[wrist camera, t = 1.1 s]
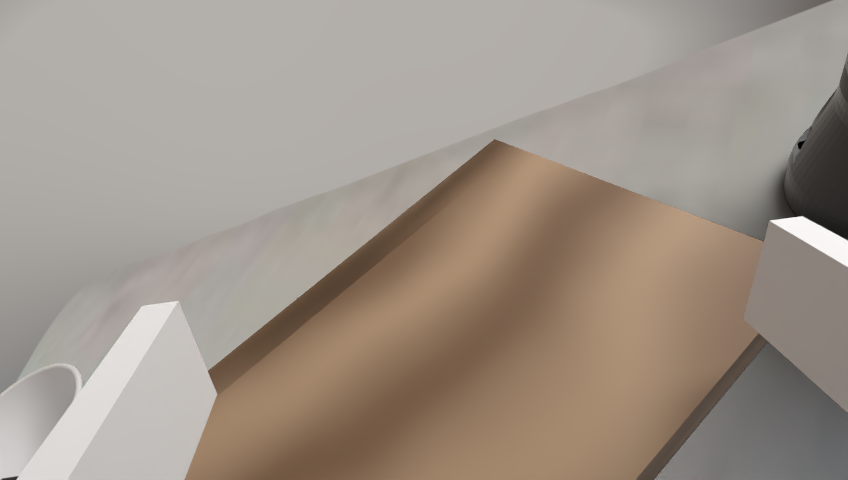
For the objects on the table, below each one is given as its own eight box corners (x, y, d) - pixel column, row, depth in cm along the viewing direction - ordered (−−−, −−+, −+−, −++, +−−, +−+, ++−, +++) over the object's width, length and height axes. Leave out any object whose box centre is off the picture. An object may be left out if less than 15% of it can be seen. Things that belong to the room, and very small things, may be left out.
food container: (-16, 541, 40) (-99, 519, 36) (62, 405, 49) (3, 374, 44) (95, 530, 37) (20, 504, 33) (157, 387, 46) (104, 352, 42)
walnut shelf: (312, 578, 30) (72, 480, 18) (552, 337, 35) (494, 139, 23) (447, 868, 20) (130, 1081, 8) (746, 476, 26) (818, 262, 14)
